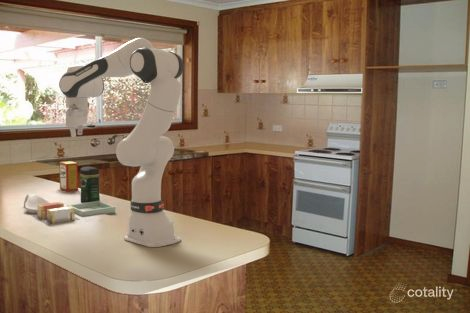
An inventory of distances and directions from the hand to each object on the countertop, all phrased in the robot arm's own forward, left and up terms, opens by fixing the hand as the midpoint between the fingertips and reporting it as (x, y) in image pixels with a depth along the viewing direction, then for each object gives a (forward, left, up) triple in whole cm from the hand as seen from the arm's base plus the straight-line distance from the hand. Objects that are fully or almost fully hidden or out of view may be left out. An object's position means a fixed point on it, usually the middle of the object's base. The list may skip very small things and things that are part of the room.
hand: (76, 136), depth 205 cm
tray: (+7, -9, -36) cm, 38 cm away
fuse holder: (+4, +9, -36) cm, 38 cm away
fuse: (+9, +9, -35) cm, 38 cm away
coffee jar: (+25, -17, -37) cm, 47 cm away
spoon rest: (+26, +10, -37) cm, 46 cm away
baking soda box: (+65, -23, -37) cm, 78 cm away
